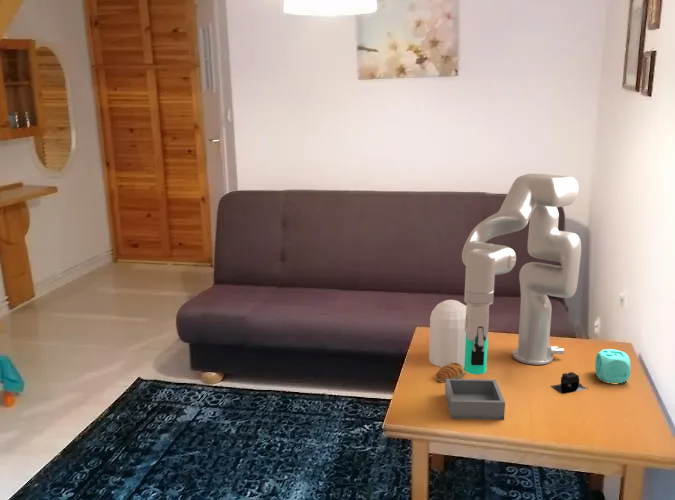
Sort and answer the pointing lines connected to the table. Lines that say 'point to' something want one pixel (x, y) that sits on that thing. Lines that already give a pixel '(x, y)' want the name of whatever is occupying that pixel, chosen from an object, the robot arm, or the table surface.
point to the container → (447, 333)
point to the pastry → (450, 372)
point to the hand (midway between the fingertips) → (475, 359)
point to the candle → (467, 364)
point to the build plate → (568, 384)
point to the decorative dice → (612, 366)
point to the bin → (474, 399)
